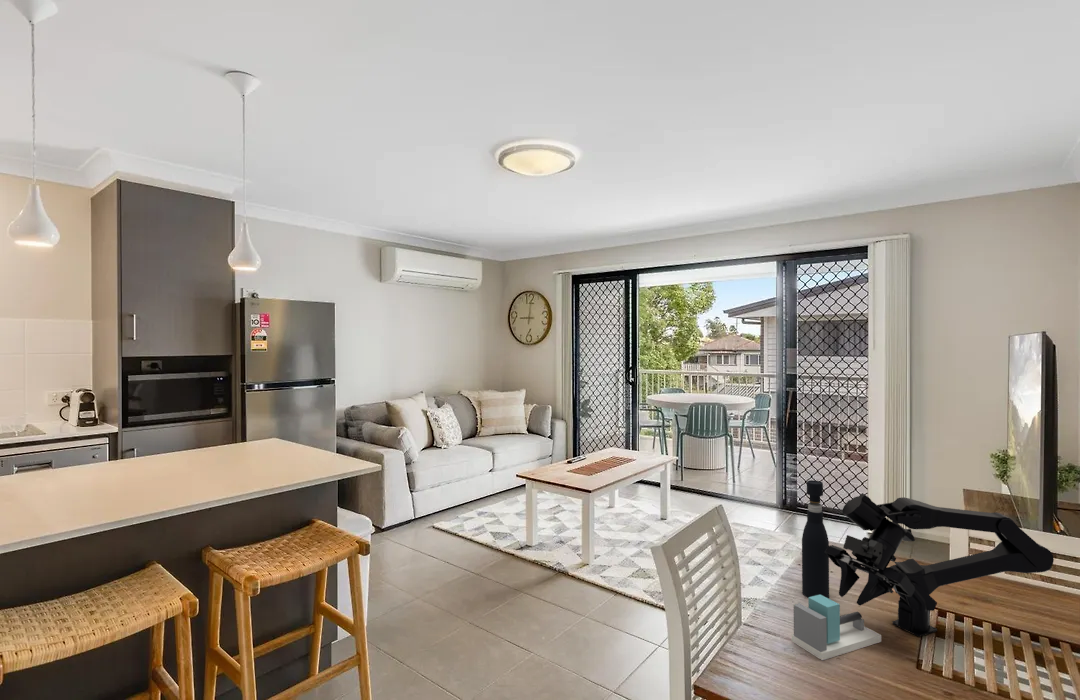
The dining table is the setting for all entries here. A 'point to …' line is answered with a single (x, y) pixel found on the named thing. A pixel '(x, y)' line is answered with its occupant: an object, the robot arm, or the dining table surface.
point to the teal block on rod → (827, 615)
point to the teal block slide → (814, 633)
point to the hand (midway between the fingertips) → (849, 600)
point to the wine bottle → (815, 546)
